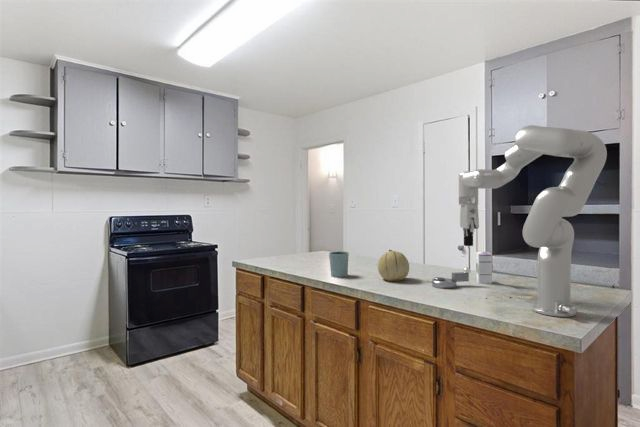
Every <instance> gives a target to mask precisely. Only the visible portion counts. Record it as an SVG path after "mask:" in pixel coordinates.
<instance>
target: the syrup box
mask: <svg viewBox="0 0 640 427" xmlns="http://www.w3.org/2000/svg"><path fill="white" fill-rule="evenodd" d="M475 254H476V255H475V262H476V263H475V264H476V265H475V266H476V267H475V268H476V269H475V272H476V275H475V276H476V277H475V278H476V282H477V283H478V284H484V285H485V284H486V285H487V284H489V285H492V284H493V263H492V262H493V259H492V255H493V254H492V253H490V252H489V251H476V252H475Z"/></svg>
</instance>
